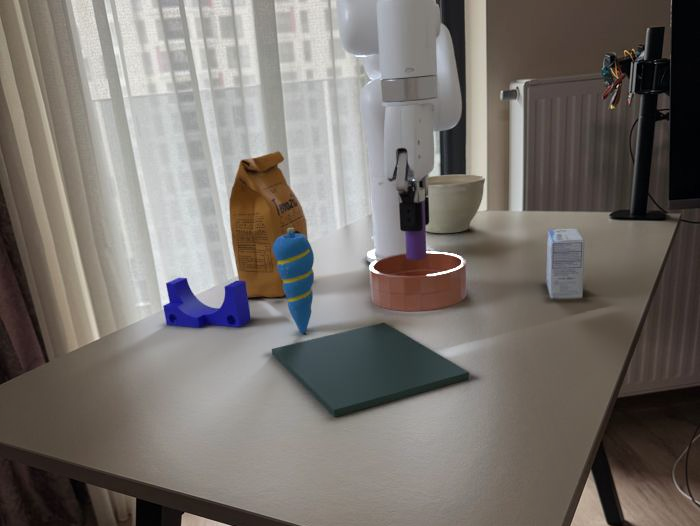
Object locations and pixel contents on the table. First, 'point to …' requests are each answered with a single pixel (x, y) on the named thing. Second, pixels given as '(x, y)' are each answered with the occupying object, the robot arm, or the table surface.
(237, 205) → the coffee package
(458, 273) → the bowl
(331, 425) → the table surface
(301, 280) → the ornament
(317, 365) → the mat
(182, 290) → the blue pipe cradle
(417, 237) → the glue stick
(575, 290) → the medicine box
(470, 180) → the planter bowl
